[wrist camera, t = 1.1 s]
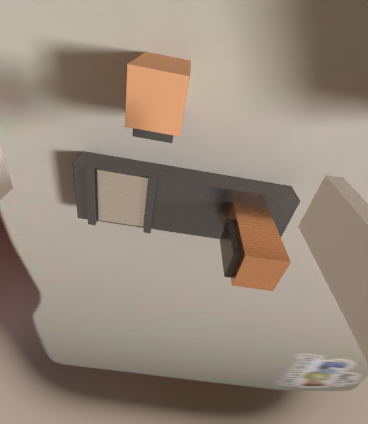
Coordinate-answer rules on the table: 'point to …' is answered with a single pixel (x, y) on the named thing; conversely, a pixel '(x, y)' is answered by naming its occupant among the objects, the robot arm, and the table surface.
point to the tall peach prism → (156, 96)
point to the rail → (193, 210)
